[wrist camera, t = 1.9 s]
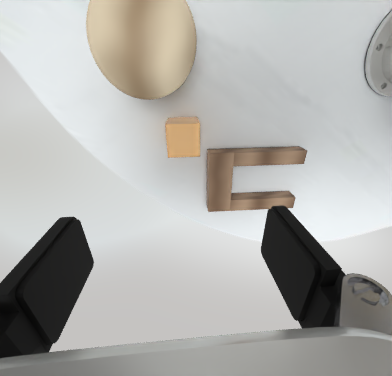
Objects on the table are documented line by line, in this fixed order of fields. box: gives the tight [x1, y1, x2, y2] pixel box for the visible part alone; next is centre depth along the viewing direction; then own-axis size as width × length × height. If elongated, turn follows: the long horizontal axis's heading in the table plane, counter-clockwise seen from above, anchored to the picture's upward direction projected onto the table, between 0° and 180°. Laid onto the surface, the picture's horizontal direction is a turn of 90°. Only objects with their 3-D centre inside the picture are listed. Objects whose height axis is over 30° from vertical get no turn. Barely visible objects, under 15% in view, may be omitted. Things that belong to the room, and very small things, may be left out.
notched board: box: [207, 147, 307, 212], centre depth 35 cm, size 16×11×2 cm
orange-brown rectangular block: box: [165, 117, 200, 158], centre depth 29 cm, size 4×4×6 cm
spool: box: [86, 0, 196, 100], centre depth 22 cm, size 9×9×12 cm
